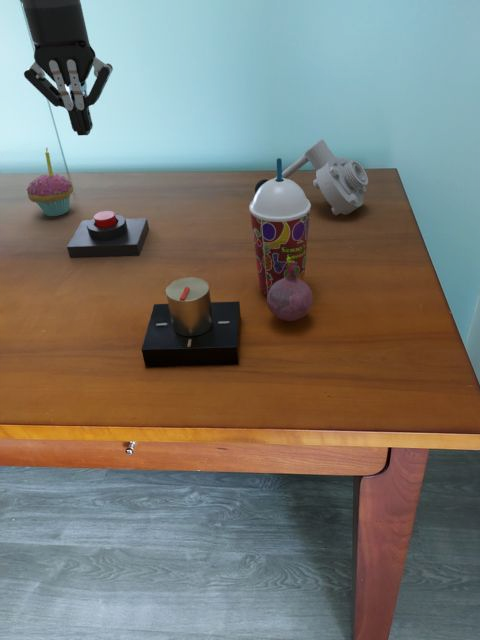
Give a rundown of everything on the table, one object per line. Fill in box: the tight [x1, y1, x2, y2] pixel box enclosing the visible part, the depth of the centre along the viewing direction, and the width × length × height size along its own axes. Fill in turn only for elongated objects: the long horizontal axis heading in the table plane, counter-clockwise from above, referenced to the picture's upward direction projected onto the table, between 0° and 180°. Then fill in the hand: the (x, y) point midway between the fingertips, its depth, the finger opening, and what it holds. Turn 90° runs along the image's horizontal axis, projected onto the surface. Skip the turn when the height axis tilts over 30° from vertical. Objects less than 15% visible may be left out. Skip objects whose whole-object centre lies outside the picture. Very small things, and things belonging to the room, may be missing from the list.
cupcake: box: [26, 146, 74, 217], centre depth 101 cm, size 9×8×12 cm
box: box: [66, 213, 150, 259], centre depth 93 cm, size 12×10×4 cm
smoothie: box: [248, 157, 312, 297], centre depth 74 cm, size 8×8×20 cm
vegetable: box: [266, 257, 314, 322], centre depth 71 cm, size 6×6×10 cm
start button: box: [93, 210, 117, 228], centre depth 91 cm, size 4×4×2 cm
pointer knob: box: [165, 277, 213, 336], centre depth 68 cm, size 5×5×6 cm
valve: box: [254, 138, 369, 216], centre depth 101 cm, size 10×20×15 cm
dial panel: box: [141, 300, 242, 368], centre depth 70 cm, size 12×10×3 cm
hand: (84, 133), depth 82 cm, fingers closed
